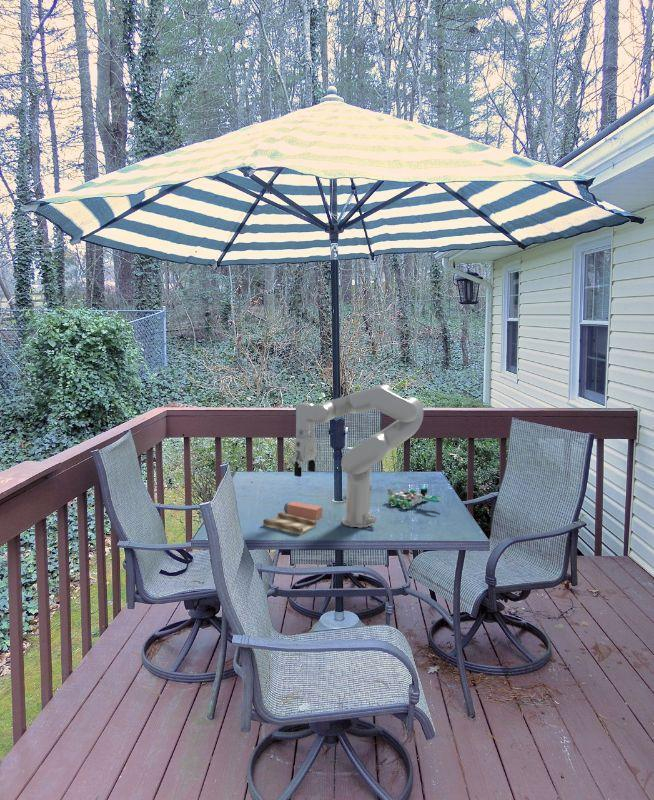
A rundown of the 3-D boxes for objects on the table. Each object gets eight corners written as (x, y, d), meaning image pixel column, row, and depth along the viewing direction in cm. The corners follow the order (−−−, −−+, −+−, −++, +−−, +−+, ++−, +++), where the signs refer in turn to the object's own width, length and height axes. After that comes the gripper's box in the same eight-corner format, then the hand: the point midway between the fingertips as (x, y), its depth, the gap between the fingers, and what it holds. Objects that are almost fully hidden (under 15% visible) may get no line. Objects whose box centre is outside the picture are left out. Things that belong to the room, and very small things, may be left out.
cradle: (316, 527, 237) (316, 520, 236) (300, 535, 228) (300, 528, 227) (280, 518, 246) (280, 512, 246) (263, 525, 237) (263, 519, 237)
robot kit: (431, 517, 251) (431, 496, 250) (382, 504, 267) (382, 484, 266) (452, 507, 265) (453, 486, 264) (404, 495, 281) (405, 476, 280)
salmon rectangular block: (322, 518, 248) (322, 506, 247) (316, 521, 243) (316, 510, 243) (289, 511, 255) (289, 500, 255) (283, 515, 251) (283, 503, 250)
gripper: (300, 437, 235) (299, 479, 237) (324, 430, 249) (323, 470, 252) (285, 435, 239) (284, 476, 241) (309, 428, 253) (309, 468, 256)
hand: (304, 473), depth 246 cm, fingers open, 9 cm apart
